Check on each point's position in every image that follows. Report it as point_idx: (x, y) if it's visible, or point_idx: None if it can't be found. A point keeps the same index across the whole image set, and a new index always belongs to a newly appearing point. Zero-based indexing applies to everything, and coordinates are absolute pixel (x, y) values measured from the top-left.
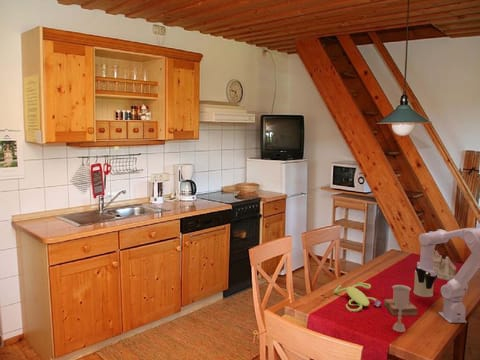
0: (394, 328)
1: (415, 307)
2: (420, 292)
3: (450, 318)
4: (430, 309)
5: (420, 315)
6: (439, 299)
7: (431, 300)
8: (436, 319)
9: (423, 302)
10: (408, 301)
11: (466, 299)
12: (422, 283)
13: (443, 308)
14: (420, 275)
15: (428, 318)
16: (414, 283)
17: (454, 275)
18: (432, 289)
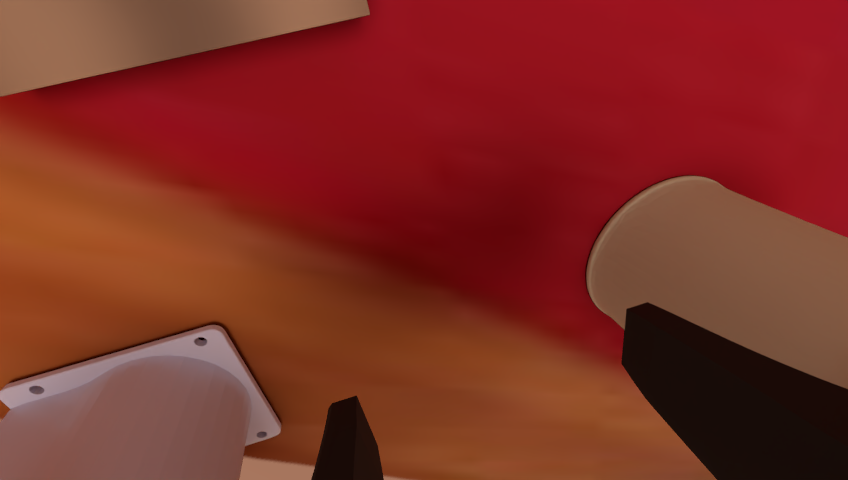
0: None
1: (13, 82)
2: (634, 237)
3: (19, 421)
4: (304, 266)
5: (55, 135)
6: (540, 348)
7: (518, 295)
8: (34, 290)
9: (468, 227)
10: (261, 13)
11: (543, 471)
12: (711, 309)
13: (119, 418)
14: (768, 441)
15: (6, 215)
16: (785, 216)
17: None
18: None
